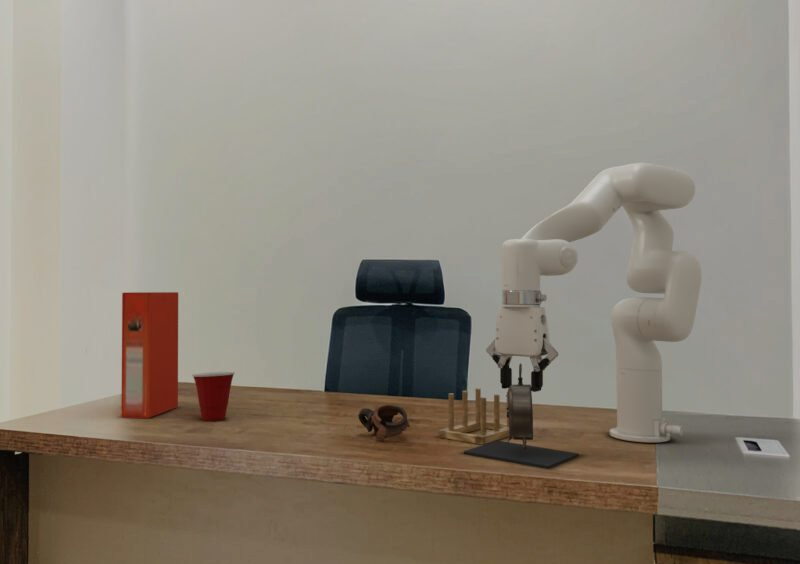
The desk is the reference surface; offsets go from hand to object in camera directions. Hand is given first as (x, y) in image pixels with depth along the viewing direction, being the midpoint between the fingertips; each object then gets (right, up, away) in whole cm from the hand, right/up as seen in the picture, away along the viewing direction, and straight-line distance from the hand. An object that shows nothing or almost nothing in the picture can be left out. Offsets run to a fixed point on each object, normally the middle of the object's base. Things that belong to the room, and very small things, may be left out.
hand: (521, 388), depth 144 cm
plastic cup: (-69, -14, +37) cm, 79 cm away
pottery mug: (-27, -14, +16) cm, 34 cm away
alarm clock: (-1, -11, 0) cm, 11 cm away
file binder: (-87, -14, +46) cm, 99 cm away
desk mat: (0, -13, -1) cm, 13 cm away
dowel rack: (-4, -14, +19) cm, 24 cm away
